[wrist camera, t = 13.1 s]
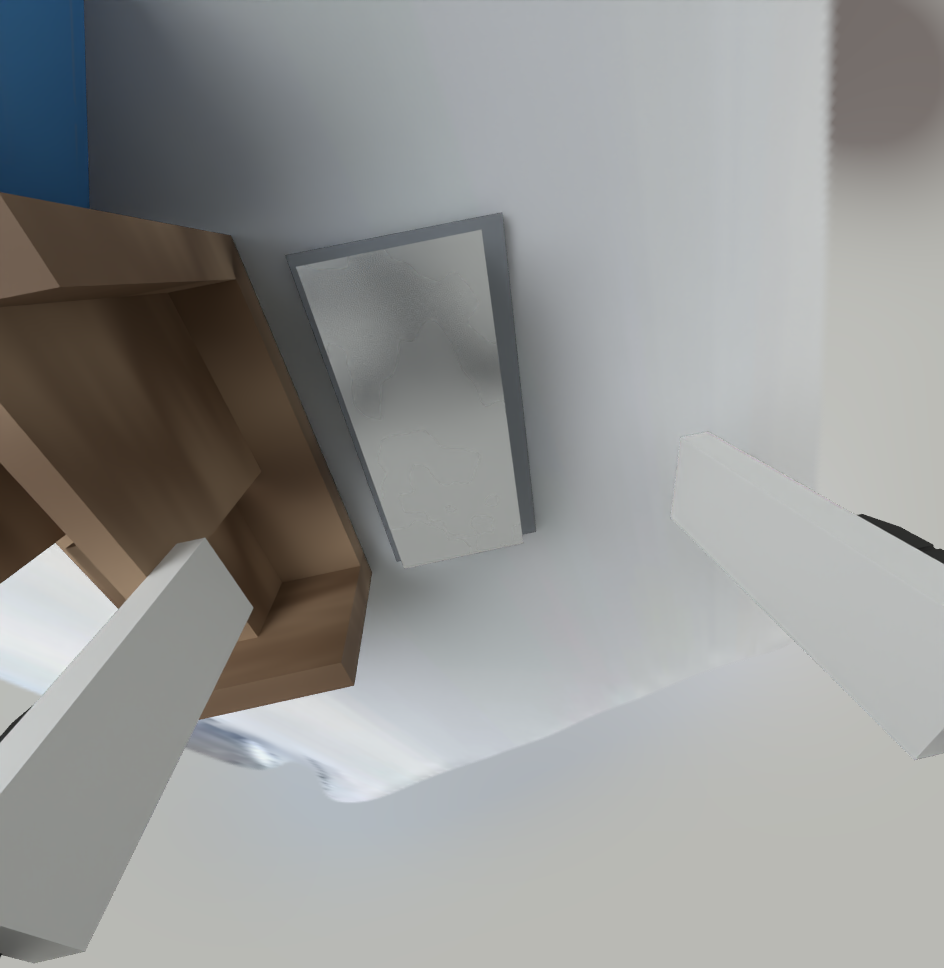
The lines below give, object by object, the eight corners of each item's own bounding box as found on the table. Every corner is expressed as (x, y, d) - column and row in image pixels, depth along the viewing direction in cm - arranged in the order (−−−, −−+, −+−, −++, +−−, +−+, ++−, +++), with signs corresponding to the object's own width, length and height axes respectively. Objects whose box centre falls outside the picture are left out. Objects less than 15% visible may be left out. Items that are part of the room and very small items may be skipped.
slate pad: (289, 255, 12) (284, 255, 12) (499, 213, 12) (502, 212, 12) (397, 556, 19) (396, 561, 18) (533, 526, 19) (536, 531, 18)
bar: (326, 268, 12) (295, 266, 9) (466, 239, 12) (481, 229, 9) (407, 516, 17) (404, 568, 14) (505, 495, 17) (523, 543, 14)
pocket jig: (-125, 305, 12) (-827, 348, 5) (230, 235, 12) (-2, 192, 5) (156, 619, 19) (19, 801, 12) (371, 572, 19) (347, 728, 13)
